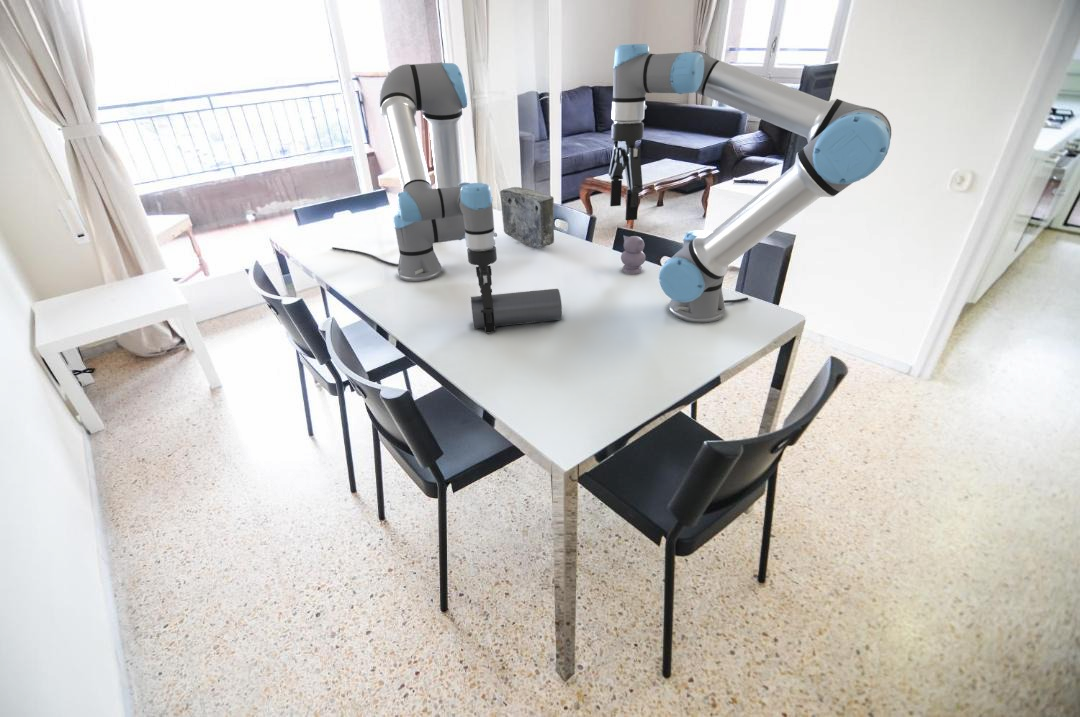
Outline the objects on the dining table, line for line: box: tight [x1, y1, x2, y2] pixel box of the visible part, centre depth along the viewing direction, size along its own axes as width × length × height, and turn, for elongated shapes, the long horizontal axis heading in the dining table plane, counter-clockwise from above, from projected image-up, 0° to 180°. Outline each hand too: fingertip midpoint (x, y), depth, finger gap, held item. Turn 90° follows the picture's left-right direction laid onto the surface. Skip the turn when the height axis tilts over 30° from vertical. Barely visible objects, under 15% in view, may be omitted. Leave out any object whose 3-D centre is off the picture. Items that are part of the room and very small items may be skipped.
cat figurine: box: [620, 234, 646, 275], centre depth 168 cm, size 9×8×12 cm
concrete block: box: [499, 186, 555, 249], centre depth 194 cm, size 27×9×20 cm, turn 36°
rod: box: [470, 288, 563, 330], centre depth 139 cm, size 24×9×9 cm, turn 99°
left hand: (488, 323), depth 140 cm, fingers open, 10 cm apart
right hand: (622, 212), depth 128 cm, fingers open, 13 cm apart
